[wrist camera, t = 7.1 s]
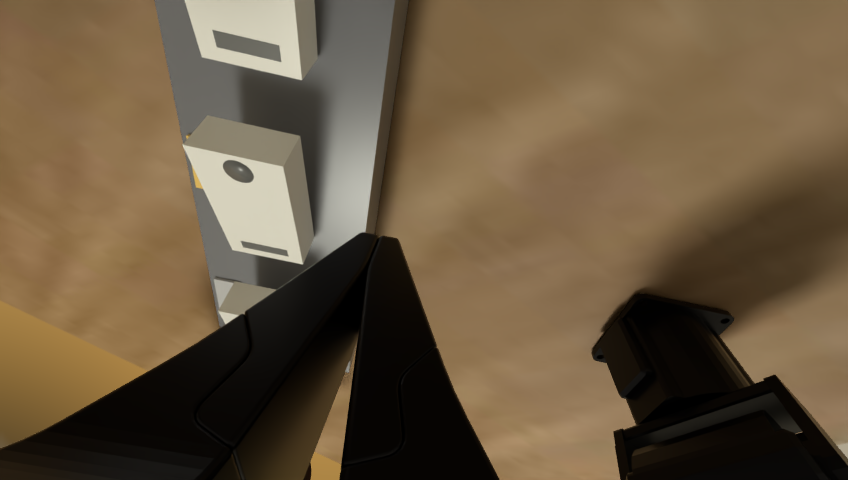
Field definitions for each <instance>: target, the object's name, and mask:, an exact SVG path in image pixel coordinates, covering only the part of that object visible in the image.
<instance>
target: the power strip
mask: <svg viewBox="0 0 848 480" xmlns="http://www.w3.org/2000/svg"><path fill="white" fill-rule="evenodd" d="M314 2H315V19H316V37H317V54H318V59H317V60H316V62H315V63H314V64H313V66H312V67H311V69H310V70H309V71H308V73H307V74H306V75H305V77H304V78H303V80H299V79H294V78H290V77H286V76H281V75H277V74H273V73H268V72H264V71H260V70H255V69H251V68H246V67H242V66H238V65H233V64H229V63H225V62H220V61H216V60H212V59H207V58H203V57H202V56H201V53H200V50H199V46H198V43H197V40H196V36H195V33H194V30H193V26H192V23H191V20H190V17H189V13H188V10H187V7H186V3H185V0H155V5H156V10H157V15H158V20H159V25H160V30H161V35H162V40H163V45H164V50H165V55H166V60H167V65H168V70H169V75H170V80H171V85H172V90H173V95H174V100H175V105H176V110H177V115H178V120H179V125H180V130H181V135H182V140H183V143H184V142H185V141H186V140H187V139H188V137H189V136H190V135H191V134H192V133H193V132H194V130H195V129H196V128H197V127H198V126H199V125H200V123H201V122H202V121H203V120H204V119H205V118H206V116H207V115H209V116H213V117H218V118H222V119H226V120H231V121H235V122H240V123H244V124H249V125H253V126H258V127H262V128H267V129H271V130H276V131H280V132H285V133H289V134H294V135H298V136H300V138H301V145H302V152H303V159H304V166H305V174H306V181H307V188H308V195H309V202H310V209H311V217H312V224H313V231H314V239H313V241H312V244H311V246H310V249H309V251H308V254H307V256H306V259H305V261H304V263H303V264H298V263H293V262H288V261H284V260H279V259H274V258H269V257H264V256H259V255H254V254H249V253H245V252H240V251H235V250H232V248H231V246H230V244H229V242H228V240H227V238H226V236H225V233H224V231H223V229H222V227H221V225H220V223H219V221H218V219H217V217H216V214H215V212H214V210H213V208H212V206H211V204H210V202H209V200H208V198H207V196H206V193H205V191H204V189H203V187H202V185H201V183H200V181H199V179H198V177H197V175H196V172H195V170H194V168H193V166H192V164H191V162H190V160H189V158H188V156H187V154H186V151H185V155H186V160H187V165H188V170H189V175H190V180H191V185H192V190H193V195H194V200H195V205H196V210H197V215H198V220H199V225H200V230H201V235H202V240H203V245H204V250H205V255H206V260H207V265H208V270H209V275H210V280H211V285H212V290H213V295H214V300H215V305H216V310H217V315H218V320H219V325H220V328H221V327H222V326H224V325H225V322H224V321H223V319H222V317H221V315H220V314H219V312H218V310H219V308H220V307H221V305H222V303H223V301H224V300H225V298H226V296H227V294H228V292H229V291H230V289H231V287H232V285H233V283H234V282H235V281H236V282H241V283H246V284H251V285H256V286H261V287H266V288H271V289H276V290H277V289H278V288H280V287H281V286H283V285H284V284H286V283H287V282H289V281H290V280H292V279H293V278H295V277H296V276H298V275H299V274H300V273H302V272H303V271H305V270H306V269H308V268H309V267H311V266H312V265H314V264H315V263H317V262H318V261H320V260H321V259H322V258H324V257H325V256H327V255H328V254H330V253H331V252H333V251H334V250H336V249H337V248H339V247H340V246H342V245H343V244H344V243H346V242H347V241H349V240H350V239H352V238H353V237H355V236H356V235H358V234H359V233H361V232H365V233H370V234H375V228H376V221H377V214H378V207H379V200H380V194H381V187H382V180H383V173H384V166H385V160H386V153H387V146H388V139H389V132H390V125H391V119H392V112H393V105H394V98H395V91H396V85H397V78H398V71H399V64H400V57H401V51H402V44H403V37H404V30H405V23H406V16H407V10H408V3H409V0H314ZM184 150H185V149H184ZM357 341H358V340H357ZM356 346H357V342H356V345H355V348H354V350H353V353H352V355H351V358H350V361H349V363H348V366H347V368H346V371H345V372H348V373H349V370H350V367H351V363H352V360H353V356H354V353H355V349H356Z"/></svg>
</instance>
